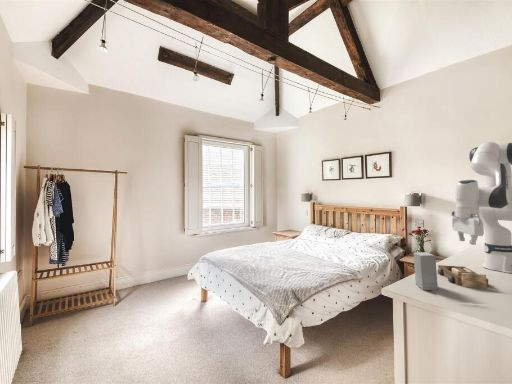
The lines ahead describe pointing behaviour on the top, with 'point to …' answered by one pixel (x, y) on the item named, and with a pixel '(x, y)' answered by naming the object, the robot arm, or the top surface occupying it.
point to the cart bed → (451, 276)
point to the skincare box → (425, 271)
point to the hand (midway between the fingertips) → (467, 242)
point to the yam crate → (460, 271)
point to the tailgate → (474, 280)
